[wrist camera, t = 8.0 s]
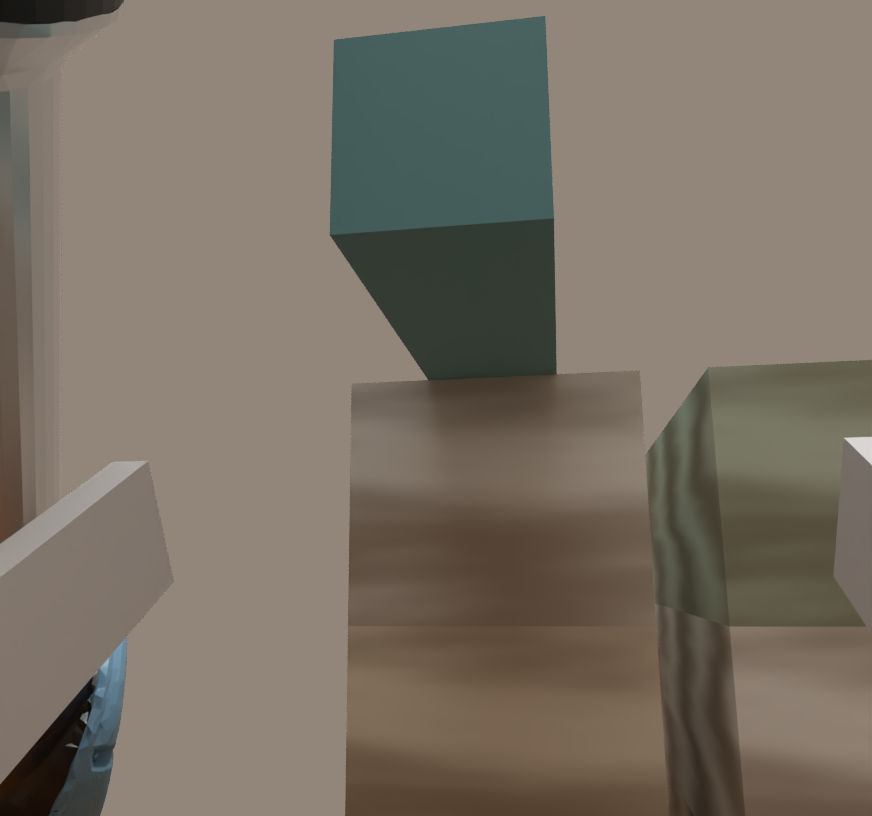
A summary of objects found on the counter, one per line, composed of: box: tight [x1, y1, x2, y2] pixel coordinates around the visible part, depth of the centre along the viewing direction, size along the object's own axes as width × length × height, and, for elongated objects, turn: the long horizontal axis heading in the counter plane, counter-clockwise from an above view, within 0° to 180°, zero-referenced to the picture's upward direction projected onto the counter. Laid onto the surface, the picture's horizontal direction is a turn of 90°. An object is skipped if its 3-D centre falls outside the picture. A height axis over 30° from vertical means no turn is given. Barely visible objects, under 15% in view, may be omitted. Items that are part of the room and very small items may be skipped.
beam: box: [330, 16, 557, 380], centre depth 29 cm, size 30×4×4 cm, turn 171°
